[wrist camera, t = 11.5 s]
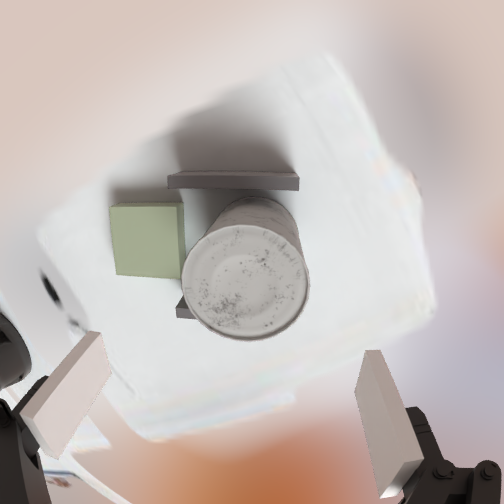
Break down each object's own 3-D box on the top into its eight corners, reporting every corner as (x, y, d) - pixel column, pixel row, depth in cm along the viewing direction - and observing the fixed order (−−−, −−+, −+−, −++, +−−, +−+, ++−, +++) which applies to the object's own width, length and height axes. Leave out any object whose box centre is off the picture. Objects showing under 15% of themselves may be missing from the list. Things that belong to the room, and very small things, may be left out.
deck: (125, 267, 37) (116, 274, 35) (119, 202, 34) (109, 207, 32) (186, 270, 36) (180, 279, 34) (183, 202, 34) (176, 206, 32)
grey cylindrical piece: (200, 210, 34) (162, 244, 23) (286, 186, 33) (292, 207, 21) (227, 288, 37) (206, 351, 25) (308, 269, 35) (321, 327, 24)
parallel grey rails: (188, 296, 38) (176, 317, 33) (182, 171, 33) (167, 175, 28) (288, 302, 37) (290, 324, 32) (295, 173, 32) (299, 177, 27)
